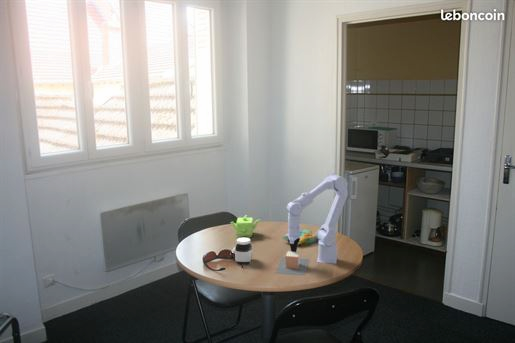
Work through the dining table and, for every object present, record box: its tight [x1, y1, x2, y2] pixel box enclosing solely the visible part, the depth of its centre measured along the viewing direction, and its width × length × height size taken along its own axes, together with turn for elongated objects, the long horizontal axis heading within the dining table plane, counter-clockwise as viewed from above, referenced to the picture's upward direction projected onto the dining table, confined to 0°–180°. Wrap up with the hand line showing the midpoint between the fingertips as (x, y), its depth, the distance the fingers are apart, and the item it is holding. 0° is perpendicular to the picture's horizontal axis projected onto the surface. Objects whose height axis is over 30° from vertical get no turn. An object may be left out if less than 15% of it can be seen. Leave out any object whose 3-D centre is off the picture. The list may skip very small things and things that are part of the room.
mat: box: [274, 256, 310, 276], centre depth 216 cm, size 14×20×1 cm
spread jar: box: [230, 237, 253, 265], centre depth 223 cm, size 12×11×12 cm
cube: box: [285, 250, 301, 269], centre depth 215 cm, size 6×6×6 cm
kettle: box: [230, 214, 261, 239], centre depth 261 cm, size 15×14×11 cm
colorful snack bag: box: [281, 228, 319, 247], centre depth 251 cm, size 12×5×20 cm
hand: (293, 252), depth 217 cm, fingers closed
